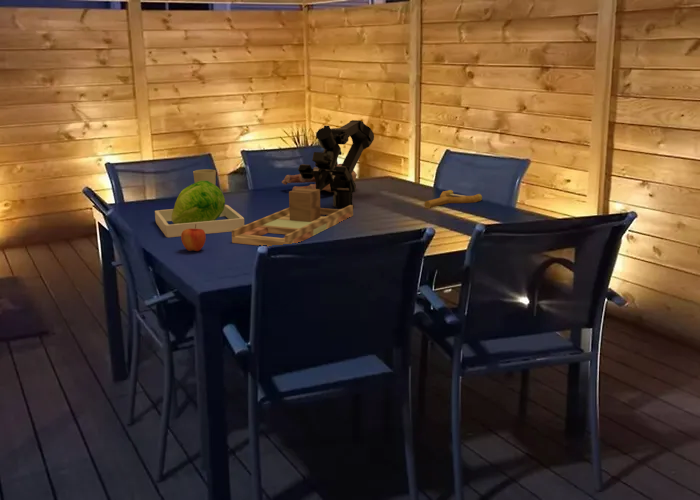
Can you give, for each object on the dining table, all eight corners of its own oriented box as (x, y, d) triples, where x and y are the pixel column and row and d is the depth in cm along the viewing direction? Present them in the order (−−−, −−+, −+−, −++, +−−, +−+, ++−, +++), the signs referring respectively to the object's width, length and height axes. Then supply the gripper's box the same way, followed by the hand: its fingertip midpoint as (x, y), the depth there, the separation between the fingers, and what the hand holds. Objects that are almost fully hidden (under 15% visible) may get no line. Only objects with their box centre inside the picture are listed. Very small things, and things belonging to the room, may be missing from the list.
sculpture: (282, 205, 332) (338, 194, 350) (314, 194, 311) (372, 184, 328) (276, 178, 332) (332, 169, 349) (308, 165, 311) (366, 156, 328)
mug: (223, 200, 315) (221, 171, 312) (200, 203, 309) (198, 173, 306) (211, 196, 324) (210, 167, 321) (189, 199, 318) (187, 170, 315)
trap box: (304, 211, 291) (303, 201, 290) (352, 215, 283) (352, 205, 282) (232, 242, 246) (231, 230, 245) (287, 248, 238) (287, 235, 237)
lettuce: (184, 217, 282) (157, 189, 270) (231, 191, 279) (205, 161, 267) (189, 249, 270) (160, 221, 258) (238, 222, 267) (211, 192, 255)
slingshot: (409, 198, 302) (447, 189, 319) (409, 205, 302) (447, 196, 320) (445, 203, 290) (483, 194, 307) (445, 211, 291) (483, 201, 308)
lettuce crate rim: (227, 215, 286) (227, 204, 285) (245, 230, 263) (244, 218, 262) (155, 221, 277) (154, 210, 276) (166, 237, 253) (165, 225, 252)
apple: (177, 252, 234) (175, 227, 232) (190, 247, 241) (188, 222, 239) (198, 254, 232) (196, 228, 230) (211, 248, 239) (209, 223, 236)
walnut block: (300, 215, 275) (299, 187, 272) (320, 217, 272) (319, 189, 269) (289, 220, 268) (288, 191, 265) (310, 222, 265) (309, 193, 262)
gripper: (299, 142, 281) (286, 176, 274) (346, 144, 274) (334, 179, 267) (309, 161, 290) (296, 195, 283) (355, 163, 283) (343, 198, 275)
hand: (317, 191), depth 277 cm, fingers closed
